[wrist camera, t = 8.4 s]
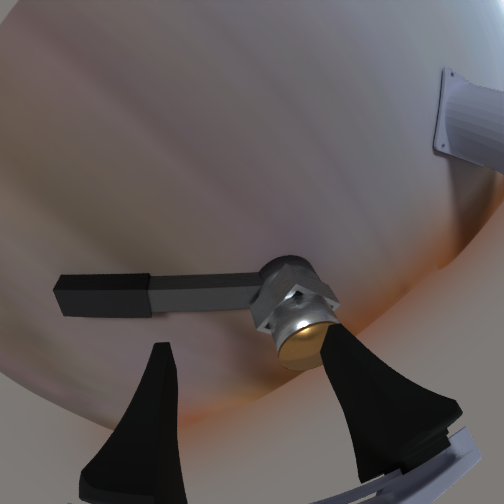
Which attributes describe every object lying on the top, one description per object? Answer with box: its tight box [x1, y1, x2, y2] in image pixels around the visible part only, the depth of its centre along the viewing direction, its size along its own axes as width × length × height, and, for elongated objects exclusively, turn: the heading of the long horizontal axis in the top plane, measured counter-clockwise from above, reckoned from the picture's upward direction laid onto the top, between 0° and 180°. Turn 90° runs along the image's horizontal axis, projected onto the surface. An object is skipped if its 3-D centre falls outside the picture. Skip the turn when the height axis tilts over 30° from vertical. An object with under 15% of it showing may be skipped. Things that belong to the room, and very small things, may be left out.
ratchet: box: [53, 255, 321, 318], centre depth 20 cm, size 22×5×4 cm, turn 86°
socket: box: [250, 264, 341, 371], centre depth 19 cm, size 5×5×6 cm
